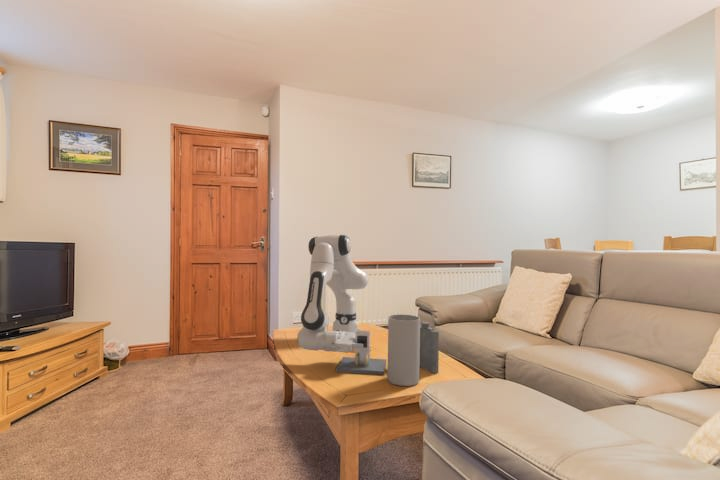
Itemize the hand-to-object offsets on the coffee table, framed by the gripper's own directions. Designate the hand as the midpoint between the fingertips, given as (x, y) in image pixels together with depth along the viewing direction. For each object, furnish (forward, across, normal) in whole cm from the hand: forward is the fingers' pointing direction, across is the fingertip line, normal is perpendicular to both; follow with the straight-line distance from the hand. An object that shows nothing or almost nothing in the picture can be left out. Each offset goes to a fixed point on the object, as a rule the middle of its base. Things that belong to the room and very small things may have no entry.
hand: (364, 342), depth 158 cm
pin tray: (-1, 0, +11) cm, 11 cm away
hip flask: (+26, +4, +11) cm, 29 cm away
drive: (-1, 0, +9) cm, 9 cm away
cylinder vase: (+17, -13, +11) cm, 24 cm away
